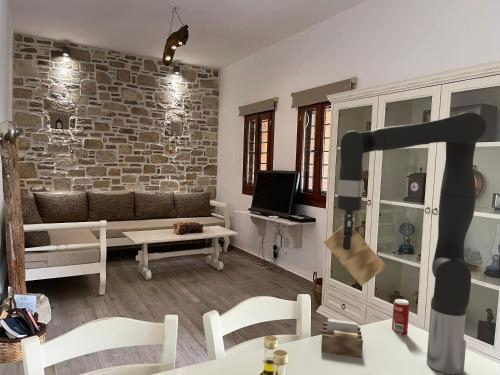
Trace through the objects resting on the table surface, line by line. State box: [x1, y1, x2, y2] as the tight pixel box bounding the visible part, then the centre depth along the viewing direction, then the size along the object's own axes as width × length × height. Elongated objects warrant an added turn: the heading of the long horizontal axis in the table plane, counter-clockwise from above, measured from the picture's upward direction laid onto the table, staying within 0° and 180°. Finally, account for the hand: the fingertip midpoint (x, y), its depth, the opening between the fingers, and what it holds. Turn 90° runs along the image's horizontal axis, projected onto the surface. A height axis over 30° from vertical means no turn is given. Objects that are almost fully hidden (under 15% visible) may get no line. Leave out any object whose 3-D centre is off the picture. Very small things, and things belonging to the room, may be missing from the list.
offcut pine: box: [334, 330, 358, 339], centre depth 115 cm, size 7×2×6 cm, turn 78°
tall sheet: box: [323, 225, 387, 287], centre depth 119 cm, size 10×2×18 cm
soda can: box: [391, 298, 410, 338], centre depth 133 cm, size 5×5×12 cm
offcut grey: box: [327, 318, 358, 333], centre depth 118 cm, size 9×2×8 cm, turn 78°
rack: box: [320, 321, 364, 359], centre depth 118 cm, size 12×11×6 cm
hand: (346, 248), depth 119 cm, fingers closed on tall sheet, 2 cm apart
